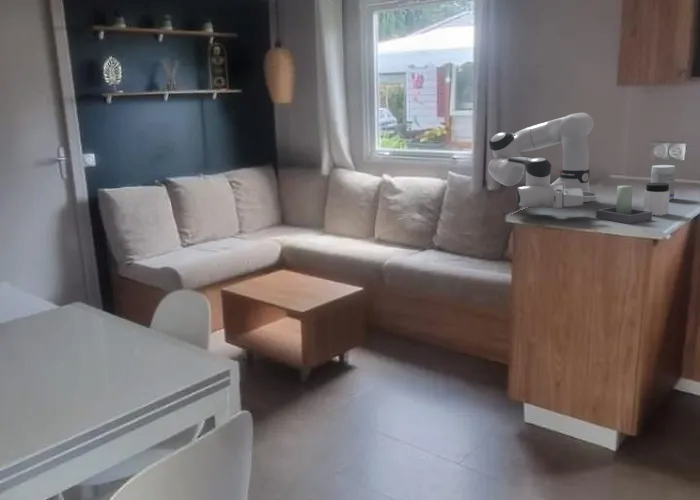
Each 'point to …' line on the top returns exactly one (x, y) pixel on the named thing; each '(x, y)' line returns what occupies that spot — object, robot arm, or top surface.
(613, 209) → the tray
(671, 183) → the supplement tub
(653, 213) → the jar
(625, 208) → the pale green cylinder
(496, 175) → the robot arm
